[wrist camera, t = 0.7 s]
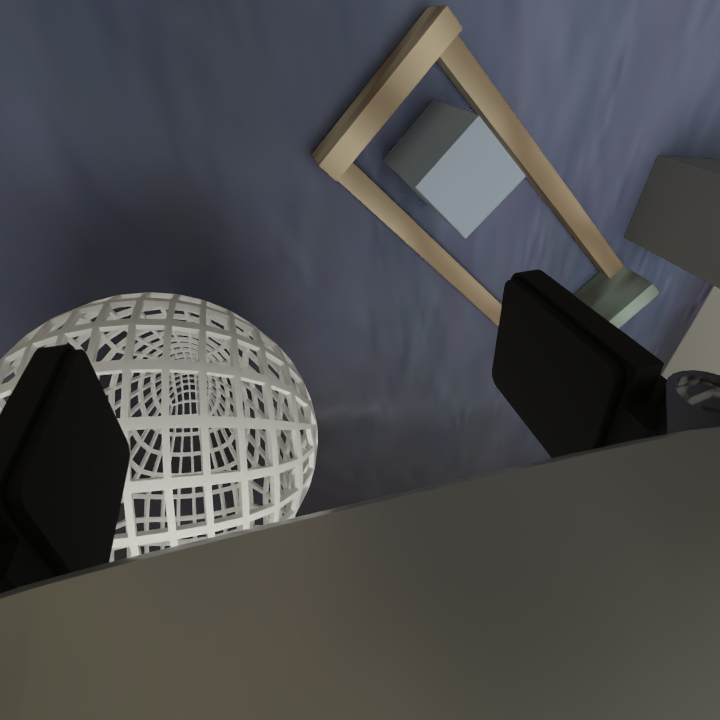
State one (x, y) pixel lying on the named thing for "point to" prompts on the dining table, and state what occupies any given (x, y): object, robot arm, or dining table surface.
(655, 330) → the dining table surface
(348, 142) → the track
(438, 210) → the grey rectangular block
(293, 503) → the heart
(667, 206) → the perfume bottle
